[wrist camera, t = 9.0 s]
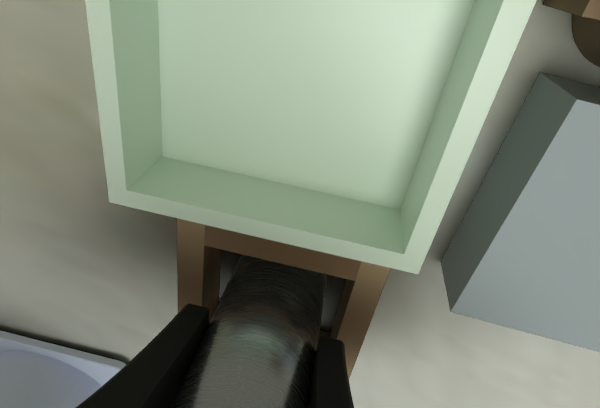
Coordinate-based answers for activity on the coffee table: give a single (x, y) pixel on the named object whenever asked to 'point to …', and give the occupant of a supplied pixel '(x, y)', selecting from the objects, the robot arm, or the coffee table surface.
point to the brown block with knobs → (583, 25)
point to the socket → (211, 241)
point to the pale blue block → (537, 222)
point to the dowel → (258, 340)
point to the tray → (299, 113)
